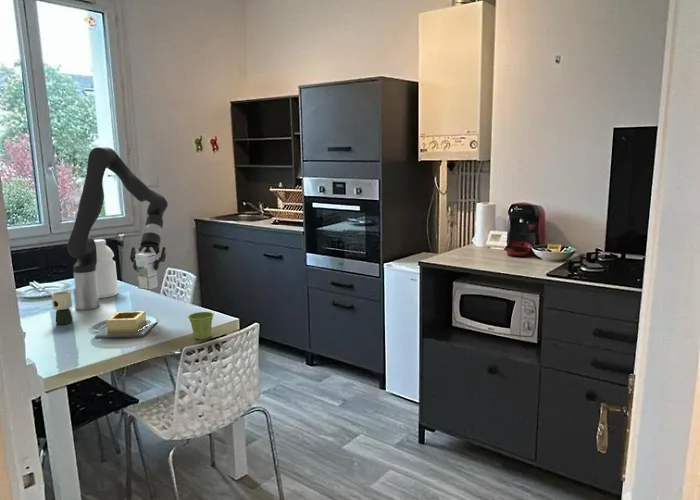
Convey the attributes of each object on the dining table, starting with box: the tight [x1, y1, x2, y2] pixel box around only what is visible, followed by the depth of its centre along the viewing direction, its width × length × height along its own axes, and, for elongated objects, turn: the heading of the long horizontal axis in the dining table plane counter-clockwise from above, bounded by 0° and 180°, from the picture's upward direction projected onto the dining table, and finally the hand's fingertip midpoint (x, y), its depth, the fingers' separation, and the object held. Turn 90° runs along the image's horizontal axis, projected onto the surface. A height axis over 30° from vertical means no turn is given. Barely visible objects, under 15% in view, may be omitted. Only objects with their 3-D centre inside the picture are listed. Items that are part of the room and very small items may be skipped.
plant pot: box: [187, 311, 215, 340], centre depth 203 cm, size 9×9×9 cm
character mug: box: [51, 290, 74, 325], centre depth 223 cm, size 11×7×13 cm, turn 44°
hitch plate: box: [95, 310, 158, 339], centre depth 213 cm, size 18×18×6 cm
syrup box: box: [135, 252, 159, 290], centre depth 220 cm, size 6×6×14 cm
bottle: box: [93, 238, 119, 299], centre depth 268 cm, size 14×14×28 cm
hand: (145, 269), depth 218 cm, fingers closed on syrup box, 7 cm apart
